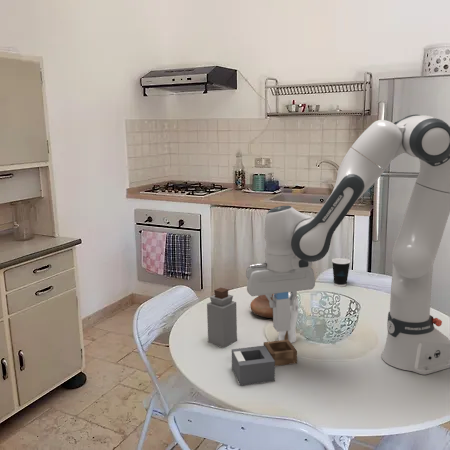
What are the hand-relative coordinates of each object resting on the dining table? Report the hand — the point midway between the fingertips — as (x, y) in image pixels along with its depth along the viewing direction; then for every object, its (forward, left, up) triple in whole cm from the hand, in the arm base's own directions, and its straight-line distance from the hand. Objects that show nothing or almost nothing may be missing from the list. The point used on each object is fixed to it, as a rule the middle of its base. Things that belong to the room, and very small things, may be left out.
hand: (281, 306), depth 147 cm
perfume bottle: (+15, -16, -17) cm, 28 cm away
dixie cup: (-46, -57, -17) cm, 75 cm away
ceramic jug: (-7, -34, -17) cm, 39 cm away
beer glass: (-6, -12, -17) cm, 22 cm away
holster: (0, 0, -17) cm, 17 cm away
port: (+11, +7, -17) cm, 21 cm away
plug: (0, 0, -7) cm, 7 cm away
